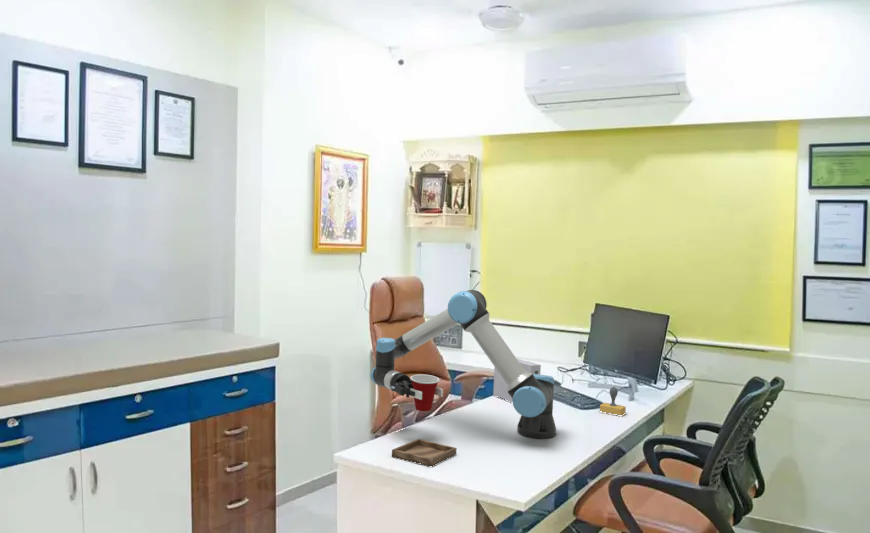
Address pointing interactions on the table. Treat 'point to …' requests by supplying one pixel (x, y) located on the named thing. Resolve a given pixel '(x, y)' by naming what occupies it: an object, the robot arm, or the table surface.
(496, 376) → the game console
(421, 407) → the plastic cup
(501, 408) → the table surface
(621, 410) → the rubber stamp
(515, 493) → the table surface
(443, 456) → the cup tray
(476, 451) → the table surface
